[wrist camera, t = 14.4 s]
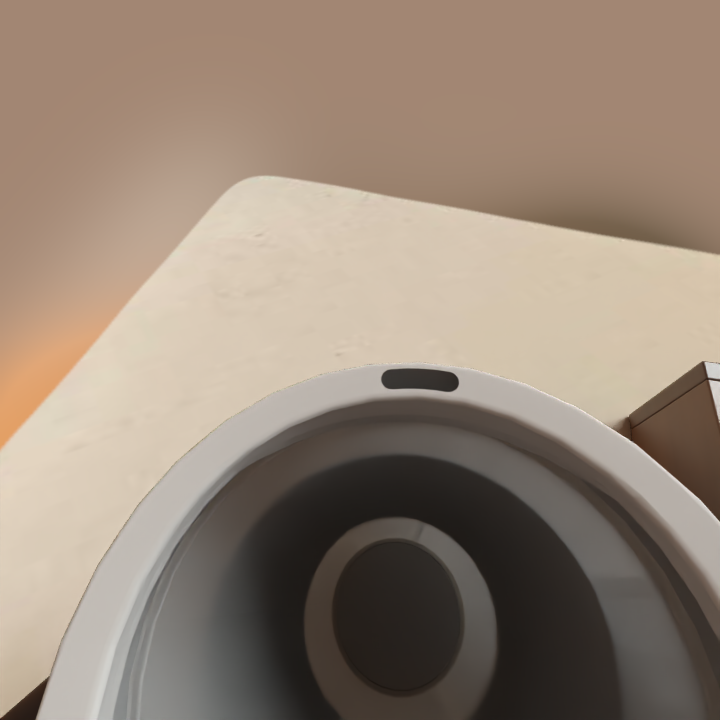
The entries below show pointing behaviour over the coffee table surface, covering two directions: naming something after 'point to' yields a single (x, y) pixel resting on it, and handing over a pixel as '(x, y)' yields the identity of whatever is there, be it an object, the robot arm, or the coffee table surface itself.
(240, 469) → the cup
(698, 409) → the box
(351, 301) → the coffee table surface
